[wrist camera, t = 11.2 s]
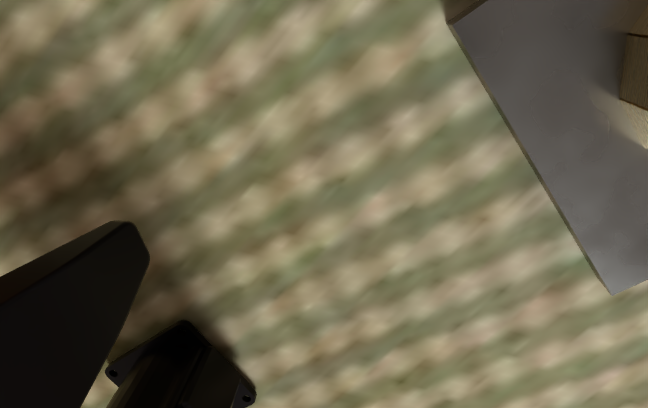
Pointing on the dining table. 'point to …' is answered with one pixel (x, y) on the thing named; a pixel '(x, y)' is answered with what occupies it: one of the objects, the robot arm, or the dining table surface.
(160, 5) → the dining table surface
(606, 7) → the tube holder stand
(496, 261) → the dining table surface
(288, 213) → the dining table surface
